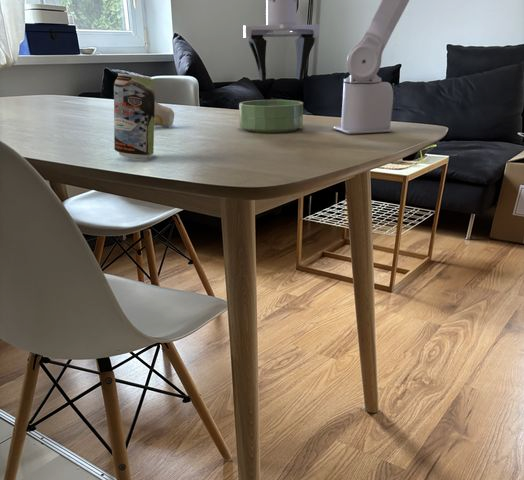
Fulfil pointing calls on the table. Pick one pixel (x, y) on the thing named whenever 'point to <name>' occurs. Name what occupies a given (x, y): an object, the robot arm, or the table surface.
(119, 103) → the tall printed two-tone box
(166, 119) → the mug
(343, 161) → the table surface
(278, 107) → the bowl
